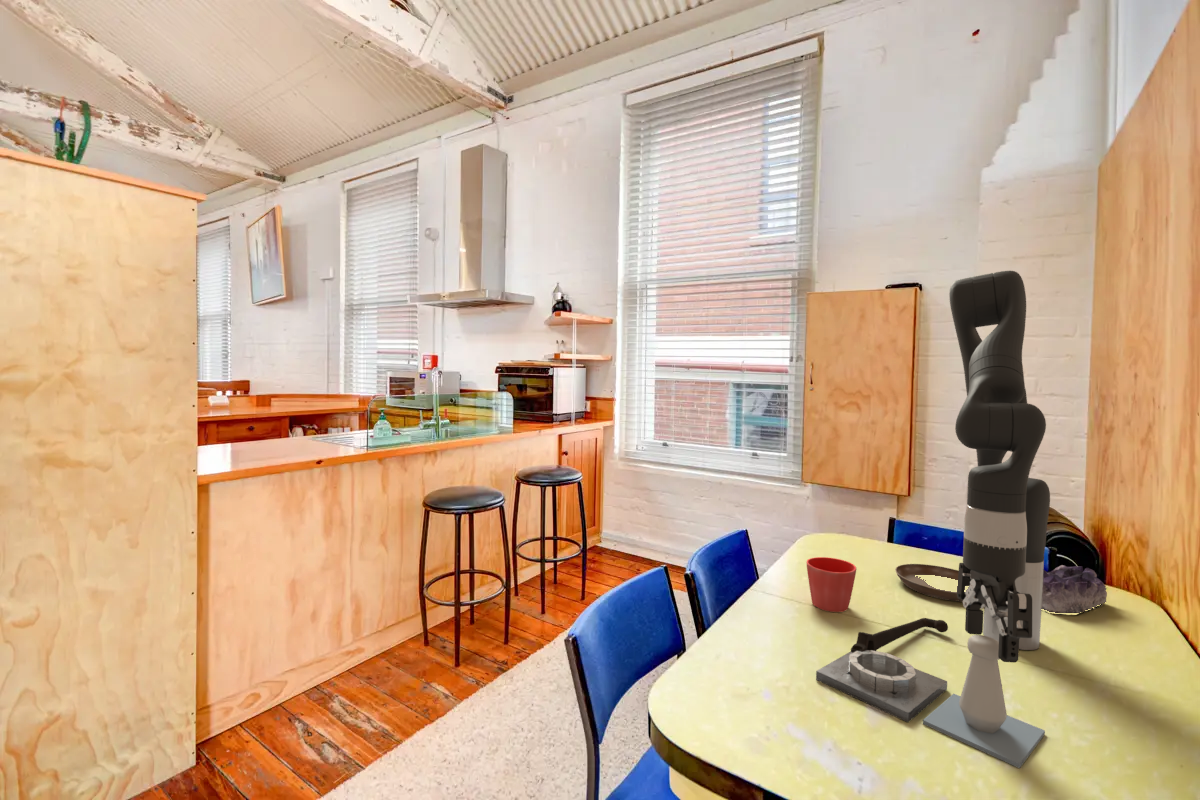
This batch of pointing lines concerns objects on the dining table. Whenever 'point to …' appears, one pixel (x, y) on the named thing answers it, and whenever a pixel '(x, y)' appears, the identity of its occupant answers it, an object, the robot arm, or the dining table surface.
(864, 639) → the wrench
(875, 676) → the eye plate
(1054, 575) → the geode
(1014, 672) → the dining table surface
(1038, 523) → the robot arm
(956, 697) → the rubber mat
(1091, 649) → the dining table surface
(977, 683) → the salt shaker
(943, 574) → the plant saucer
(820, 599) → the flower pot
